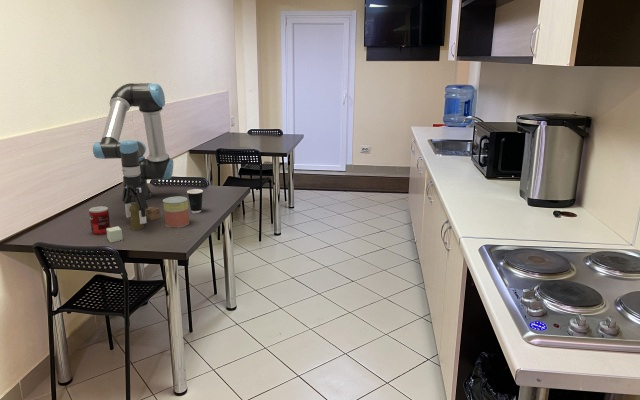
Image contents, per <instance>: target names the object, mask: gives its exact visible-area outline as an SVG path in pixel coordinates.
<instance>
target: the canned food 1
mask: <svg viewBox="0 0 640 400" xmlns="http://www.w3.org/2000/svg"><path fill="white" fill-rule="evenodd" d="M88 214H89V219H90V220H89V221H90V229H91V232H92V234H94V235H98V236H99V235H107V230H106V229H107V228H111V221H110V213H109V207H107V206H104V205H103V206H102V205H101V206H93V207H91V208H89V209H88Z"/></svg>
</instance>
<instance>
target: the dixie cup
mask: <svg viewBox="0 0 640 400" xmlns="http://www.w3.org/2000/svg"><path fill="white" fill-rule="evenodd" d="M203 192H204V190H203V189H200V188H199V189H197V188H194V189H188V190H187V191H186V193H187V196H188V201H189V202H188V204H189V208H190V211H191V213H193V214H198V213H201V212H202V209H203V205H202V204H203Z"/></svg>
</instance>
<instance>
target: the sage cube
mask: <svg viewBox="0 0 640 400" xmlns="http://www.w3.org/2000/svg"><path fill="white" fill-rule="evenodd" d="M106 230H107V233H106V238H107V240H108V241H109V242H110V243H115V242H120V240H121V241H123V240H124V239H123V231H122V228H120V226H119V225H118V226H113V227H110V228H107V229H106Z"/></svg>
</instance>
